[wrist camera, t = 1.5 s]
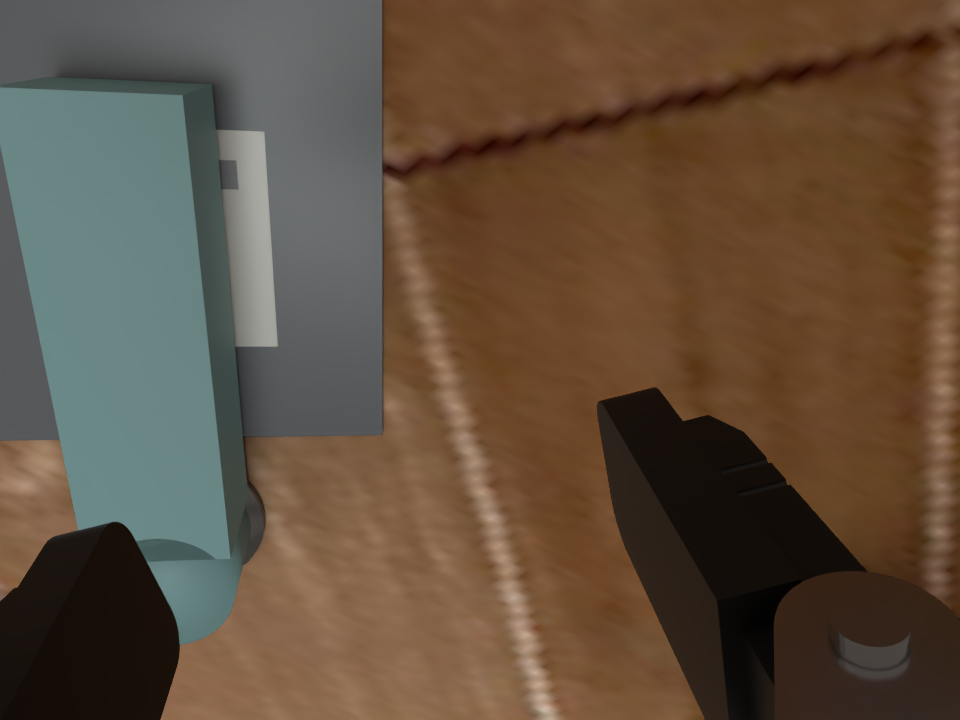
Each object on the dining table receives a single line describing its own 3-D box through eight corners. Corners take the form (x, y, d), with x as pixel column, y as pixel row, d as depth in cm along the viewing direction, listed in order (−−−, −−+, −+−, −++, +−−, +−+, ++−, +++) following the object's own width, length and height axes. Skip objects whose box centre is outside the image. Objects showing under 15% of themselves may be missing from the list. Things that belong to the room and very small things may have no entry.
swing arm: (211, 84, 24) (182, 95, 21) (254, 572, 33) (239, 642, 29) (48, 76, 24) (-12, 86, 20) (133, 577, 32) (102, 648, 28)
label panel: (381, -490, 20) (381, -496, 20) (382, 432, 31) (382, 435, 31) (-300, -589, 18) (-309, -597, 18) (-32, 438, 29) (-36, 441, 29)
